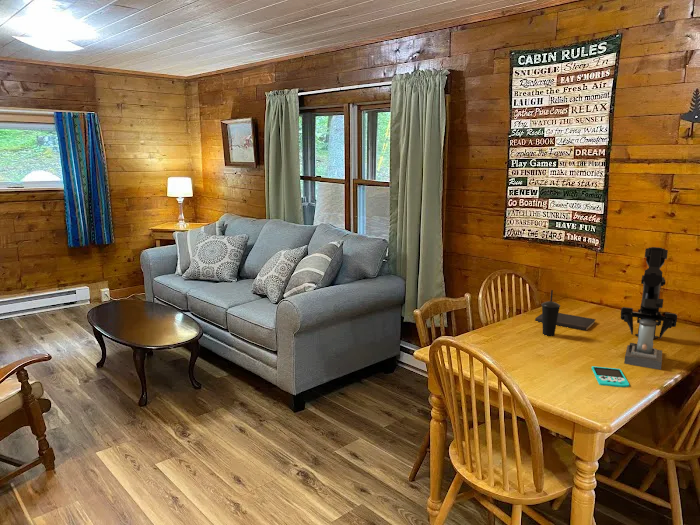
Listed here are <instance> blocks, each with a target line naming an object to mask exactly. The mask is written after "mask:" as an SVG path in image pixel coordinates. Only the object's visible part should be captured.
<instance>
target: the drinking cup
mask: <svg viewBox="0 0 700 525" xmlns="http://www.w3.org/2000/svg"><path fill="white" fill-rule="evenodd" d="M553 293H554V289H553V290H552V289H551V290H550V299H549V300H550V301H549V300H548V301H544V302H541V309H542V310H541V311H542V312H541V314H542V323H541V324H542V335H543V334H544V335H543V336H545V335H547V336H546V337H554V336H555V334H556V329H557V326H556V323H557V318H558V313H560V307H561V305H560V303H558V302H555V301H553V296H554V295H553Z"/></svg>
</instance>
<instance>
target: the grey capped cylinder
mask: <svg viewBox="0 0 700 525" xmlns="http://www.w3.org/2000/svg"><path fill="white" fill-rule="evenodd" d="M639 319H640V318H639ZM638 324H640V326H638V329H639V335H638V336H637V342H638V343H636V344H637V352H641V353H648V354H651V353H652V345H653V346H654V339H653V337H654V329H655V326H656V327H657V325H656V322H655V321H653V320H649V319H640V321H639V323H638Z"/></svg>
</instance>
